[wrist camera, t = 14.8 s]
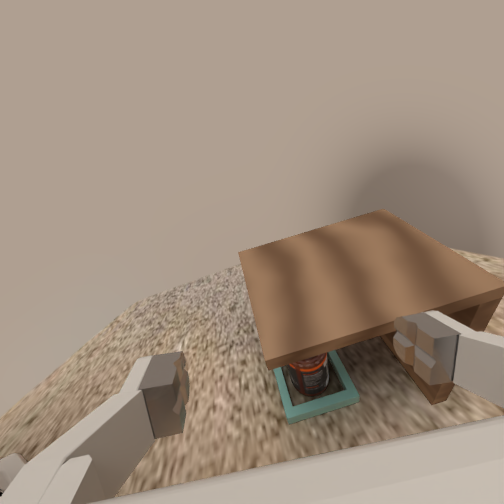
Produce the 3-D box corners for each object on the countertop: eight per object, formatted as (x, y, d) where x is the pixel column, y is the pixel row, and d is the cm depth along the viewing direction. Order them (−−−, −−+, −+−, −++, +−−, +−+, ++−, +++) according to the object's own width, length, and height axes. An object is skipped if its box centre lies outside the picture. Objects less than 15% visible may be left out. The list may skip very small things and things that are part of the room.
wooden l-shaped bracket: (297, 448, 31) (264, 361, 19) (268, 343, 44) (238, 252, 32) (446, 400, 31) (509, 284, 19) (373, 310, 45) (383, 208, 32)
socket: (288, 424, 33) (286, 418, 32) (270, 357, 42) (268, 351, 41) (359, 402, 34) (359, 395, 32) (326, 340, 42) (326, 333, 41)
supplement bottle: (337, 379, 37) (336, 335, 30) (310, 407, 34) (302, 366, 28) (309, 352, 41) (302, 310, 35) (283, 375, 39) (271, 334, 32)
